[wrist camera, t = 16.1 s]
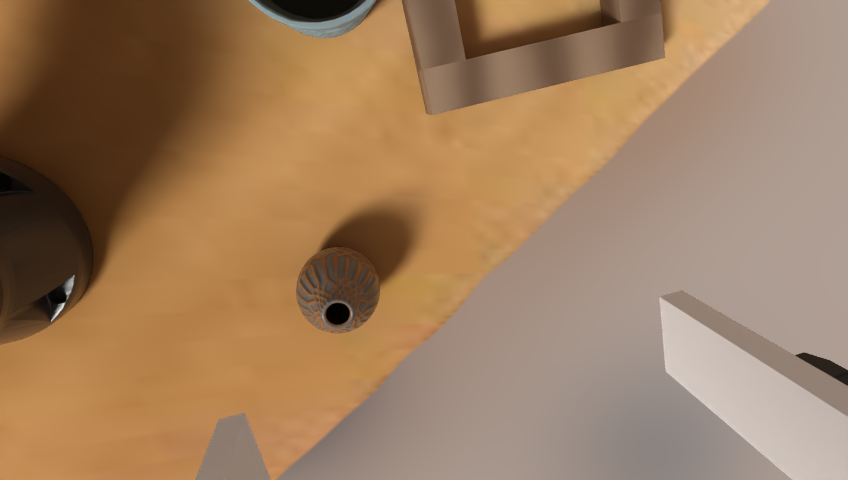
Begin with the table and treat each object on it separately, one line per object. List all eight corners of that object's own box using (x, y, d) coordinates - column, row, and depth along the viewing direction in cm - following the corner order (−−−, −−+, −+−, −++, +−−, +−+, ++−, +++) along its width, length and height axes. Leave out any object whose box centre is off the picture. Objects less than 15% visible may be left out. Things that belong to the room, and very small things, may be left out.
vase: (286, 288, 45) (272, 331, 37) (325, 224, 44) (320, 253, 36) (352, 322, 47) (354, 370, 39) (391, 261, 46) (401, 298, 38)
